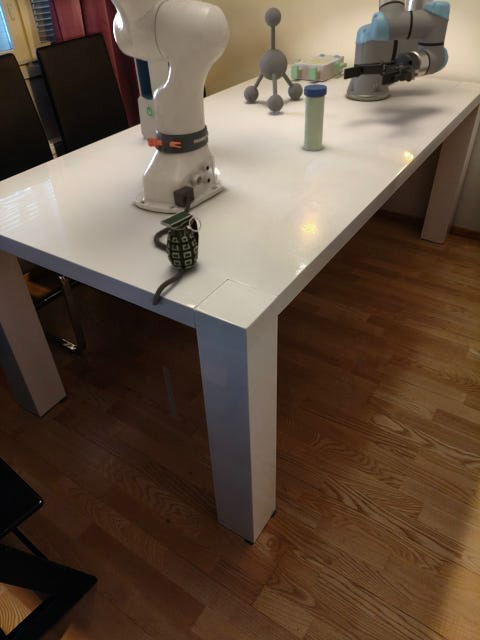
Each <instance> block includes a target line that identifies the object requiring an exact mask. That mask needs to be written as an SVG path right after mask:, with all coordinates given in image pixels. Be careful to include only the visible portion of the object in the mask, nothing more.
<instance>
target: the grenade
mask: <svg viewBox="0 0 480 640" xmlns="http://www.w3.org/2000/svg"><path fill="white" fill-rule="evenodd" d="M198 222H199V226H198ZM159 224H160V225H162V226H164V227H165V228H166V227H169V228H170V227H171V230H169V231H168V232H167V236H166V245H167V249H165V250H166V254H167V259H168V261H169V263H170V265H171V266H172V267H174V268H176V269H178V270H179V268H181V269H182V268H184V271H186V270H189V269H192V267H194V266H195V265H196V264H197V262H198V261H197V260H198V259H199V243H200V241H199V240H200V233H199V232H200V231H201V228H202V221H201V220H200V219H199V218H198V217H197V216H194V215H193V214H192V213H189V212H188V213H187V212H184V211H181V212H179V213H174V214H172V215H170V216H169V217H166V218H165V219H162V220H160V222H159ZM198 227H199V228H198Z"/></svg>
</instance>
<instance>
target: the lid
mask: <svg viewBox="0 0 480 640" xmlns="http://www.w3.org/2000/svg"><path fill="white" fill-rule="evenodd" d="M327 93H328V86H327V85H325V84H319V83H316V84H314V83H313V84H307V85H305V86H304V88H303V95H304V96H305V97H306V96H308V97H322V96H326V95H327Z"/></svg>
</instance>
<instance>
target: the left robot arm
mask: <svg viewBox="0 0 480 640" xmlns="http://www.w3.org/2000/svg"><path fill="white" fill-rule="evenodd" d="M110 1H111V2H112V4H113V5H114V7H115V9H116V13H115V14H114V15H115V16H114V19H113V25H112V26H113V27H112V28H113V36H114V39H115V42H116V45H117V46H118V49H119V50H120V51H121V53H123V54H124V55H125V56H128V57H131V58H133V59H134V58H137V59H141V60H144V61H161V62H168V66H169V77H168V80H166V81H164V82H163V83H162V84H161V85H159V86H158V88H157V89H156V91H155V93H154V97H153V101H154V108H155V114H156V121H157V128H158V129H157V130H156V138H152V137H150V138H149V139H147V146H149V147H151V148H152V147H154V148H155V151H154V153H153V155H152V157H151V159H150V162H149V163H148V165H147V167H146V169H145V172H144V173H143V176H142V192H140V193H139V195H138V196H137V197H135V199H134V205H135V206H137V207H138V208H140V209H142V210H143V209H144V210H147V211H151V212H157V213H164V214H177V213H179V212H181V211H184V212H187V213H189V212H190V209H193V208H194V207H196V206H198V205H199V204H201V203H203V202H205V201H207V200H208V199H210V198H212V197H214V196H215V195H217V194H219V193H220V192H222V191H223V185H222V184H220V183H219V180H218V175H220V170H219V169H218V168H217V167H216V163H215V156H214V155H213V153H212V152H211V149H210V147H209V145H208V143H209V130H208V126H207V124H206V121H205V103H204V94H205V93H204V92H205V85H206V80H207V77H208V75H209V72H210V70H211V68H212V67H213V65H214V64H216V62H217V61H218V60H219V59H220V58H221V57H222V55H223V54H224V52H225V51H226V49H227V47H228V43H229V39H230V36H229V35H230V29H229V24H228V20H227V17H226V15H225V13H224V11H223V10H222V8H221V7H219V6H218V5H216V4H212V3H210V2H205V1H200V0H110ZM169 230H171V227H170V228H169V227H166V226H165V228H162V229H160V230H159V231H157V232H156V233H155V234H154V236H153V242H154V244H155V245H157V246H158V247H159V248H162V249H163V250H166V249H167V243H164V242H161V241H160V239H159V238H160V237H161V236H163V235H165V234H166V233H168V231H169ZM184 271H185V270H184V268H182V269H181V268H179V269H178V271H177V273H175V275H173V276H171V277H170V278H168V279H166V280H164V282H162V283H161V284H160V285H158V287H157V289H156V291H155V293H154V296H153V300H152V306H158V304H159V299H160V297H161V294H162V293H163V291H164V290H165V289H166V288H168V287H169V286H170V285H171V284H174V283H175V282H177V281H179V279H181V278H182V276H183V275H184ZM161 366H162V371H163V376H164V380H165V386H166V390H167V395H168V400H169V405H170V406H169V407H170V410H171V415H172V419H177V418H178V413H177V409H176V408H177V407H176V402H175V397H174V392H173V387H172V382H171V377H170V371H169V368H168V367H167V366H165V365H161Z"/></svg>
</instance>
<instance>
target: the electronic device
mask: <svg viewBox="0 0 480 640" xmlns="http://www.w3.org/2000/svg"><path fill="white" fill-rule="evenodd" d="M133 60H134V61H133V62H134V65H135V72H136V79H137V86H138V90H139V97H138V98H137V103H138V113H139V123H140V129H141V130H140V131H141V135H142V136H143V138H144V139H146V140H148V139H149V138H150V137H152V138H156V130H157V129H158V128H157V121H156V114H155V108H154V101H153V97H154V93H155V91H156V89H157V88H158V86H159V85H161V84H162V83H163V82H164V81H166V80H168V77H169V72H170V67H169V62H161V61H144V60H141V59H137V58H134V57H133Z"/></svg>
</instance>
